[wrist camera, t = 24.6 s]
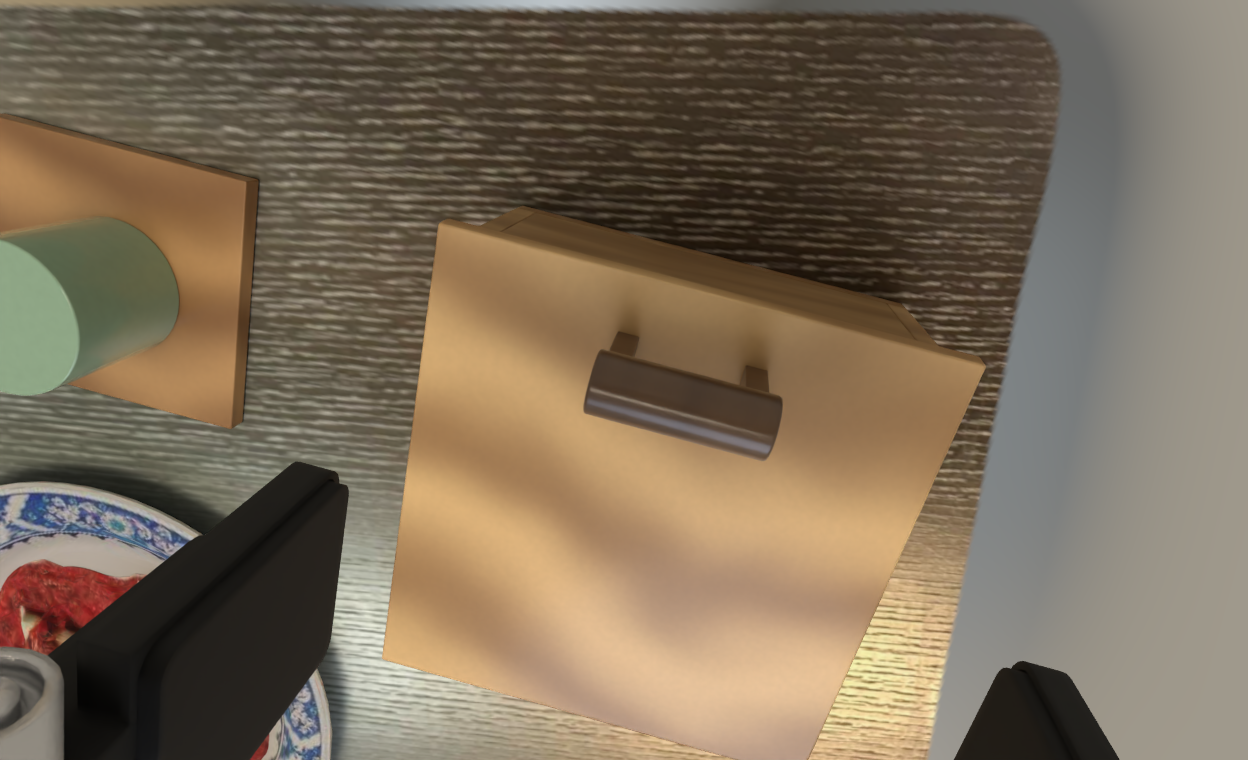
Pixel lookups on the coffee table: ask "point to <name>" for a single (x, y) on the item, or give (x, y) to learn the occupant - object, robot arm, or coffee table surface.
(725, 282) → the chest
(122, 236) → the sage green cylinder
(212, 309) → the trivet
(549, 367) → the lid
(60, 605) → the ceramic plate
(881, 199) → the coffee table surface
